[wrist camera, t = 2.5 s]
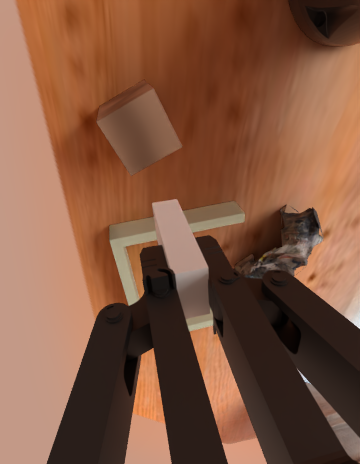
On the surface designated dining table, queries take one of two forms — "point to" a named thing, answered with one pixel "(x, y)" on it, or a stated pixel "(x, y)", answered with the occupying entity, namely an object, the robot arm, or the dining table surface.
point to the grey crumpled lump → (287, 246)
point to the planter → (338, 426)
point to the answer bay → (146, 232)
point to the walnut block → (138, 127)
